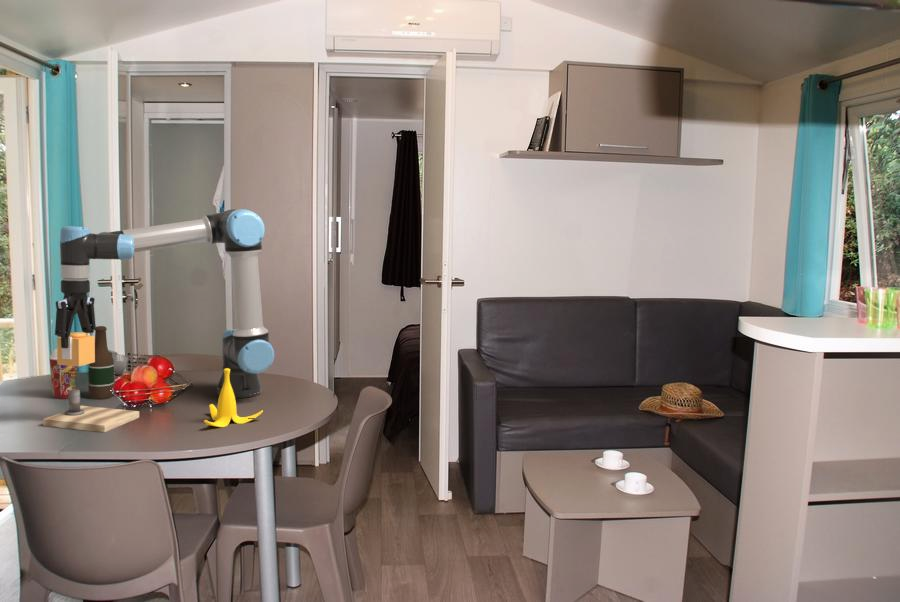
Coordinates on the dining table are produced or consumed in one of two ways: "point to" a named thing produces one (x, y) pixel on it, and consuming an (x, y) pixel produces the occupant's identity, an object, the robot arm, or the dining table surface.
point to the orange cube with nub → (78, 350)
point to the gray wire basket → (123, 362)
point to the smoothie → (62, 377)
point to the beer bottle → (101, 368)
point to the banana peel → (226, 407)
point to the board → (89, 416)
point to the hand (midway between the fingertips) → (76, 356)
